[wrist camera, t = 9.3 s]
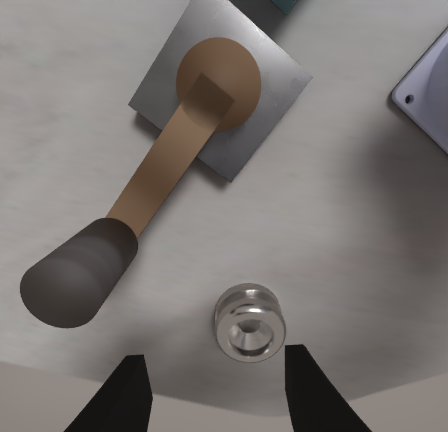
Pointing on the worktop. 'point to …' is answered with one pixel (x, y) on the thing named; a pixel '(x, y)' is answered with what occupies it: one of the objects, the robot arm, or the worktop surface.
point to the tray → (284, 5)
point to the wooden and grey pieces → (269, 70)
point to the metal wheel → (249, 323)
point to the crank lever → (145, 186)
